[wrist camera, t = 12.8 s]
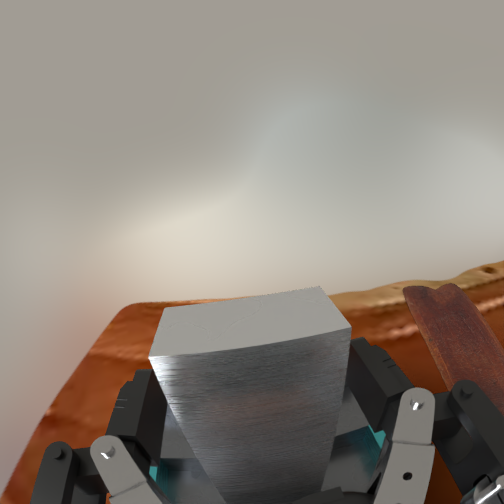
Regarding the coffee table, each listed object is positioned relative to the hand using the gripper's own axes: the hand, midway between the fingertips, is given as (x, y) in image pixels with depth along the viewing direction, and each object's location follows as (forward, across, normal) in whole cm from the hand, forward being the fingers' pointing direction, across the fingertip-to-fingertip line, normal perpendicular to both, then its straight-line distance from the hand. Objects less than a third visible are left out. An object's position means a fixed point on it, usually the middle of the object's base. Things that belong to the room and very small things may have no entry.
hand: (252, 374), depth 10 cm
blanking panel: (-2, 0, +9) cm, 9 cm away
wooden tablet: (+7, -23, +11) cm, 27 cm away
